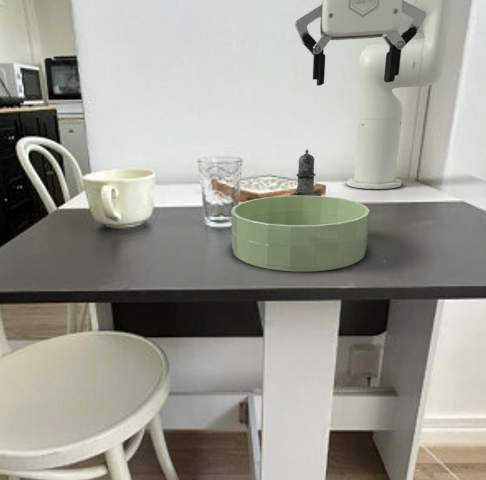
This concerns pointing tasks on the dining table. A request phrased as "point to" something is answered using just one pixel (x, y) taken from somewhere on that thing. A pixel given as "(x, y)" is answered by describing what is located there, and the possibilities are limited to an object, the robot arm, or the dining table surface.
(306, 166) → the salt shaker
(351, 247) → the bowl
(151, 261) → the dining table surface
